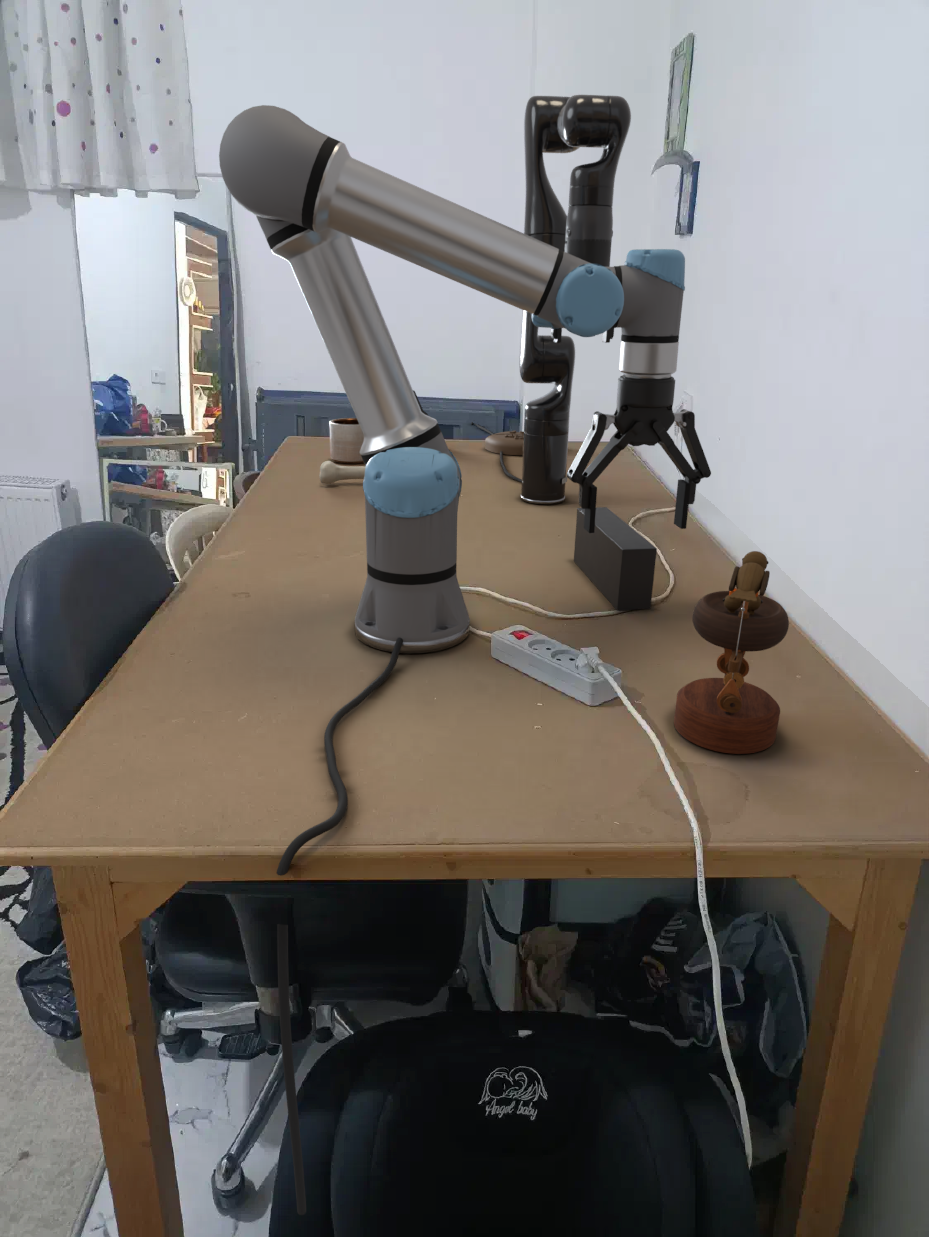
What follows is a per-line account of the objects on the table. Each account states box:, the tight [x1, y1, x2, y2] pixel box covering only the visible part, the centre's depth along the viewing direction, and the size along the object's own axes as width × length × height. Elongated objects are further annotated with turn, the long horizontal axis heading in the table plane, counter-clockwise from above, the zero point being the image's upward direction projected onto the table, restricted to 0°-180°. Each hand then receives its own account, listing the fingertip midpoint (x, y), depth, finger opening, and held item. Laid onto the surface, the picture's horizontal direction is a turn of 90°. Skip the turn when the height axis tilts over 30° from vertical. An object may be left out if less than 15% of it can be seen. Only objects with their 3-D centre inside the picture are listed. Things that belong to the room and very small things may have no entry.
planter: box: [328, 417, 364, 464], centre depth 212 cm, size 11×11×10 cm
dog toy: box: [318, 460, 366, 485], centre depth 190 cm, size 20×6×5 cm, turn 99°
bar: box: [573, 506, 658, 611], centre depth 130 cm, size 23×5×9 cm, turn 9°
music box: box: [673, 550, 790, 755], centre depth 87 cm, size 15×11×20 cm
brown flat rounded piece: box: [484, 430, 524, 456], centre depth 224 cm, size 21×28×4 cm
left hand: (634, 528), depth 121 cm, fingers open, 13 cm apart
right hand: (581, 342), depth 143 cm, fingers open, 8 cm apart
